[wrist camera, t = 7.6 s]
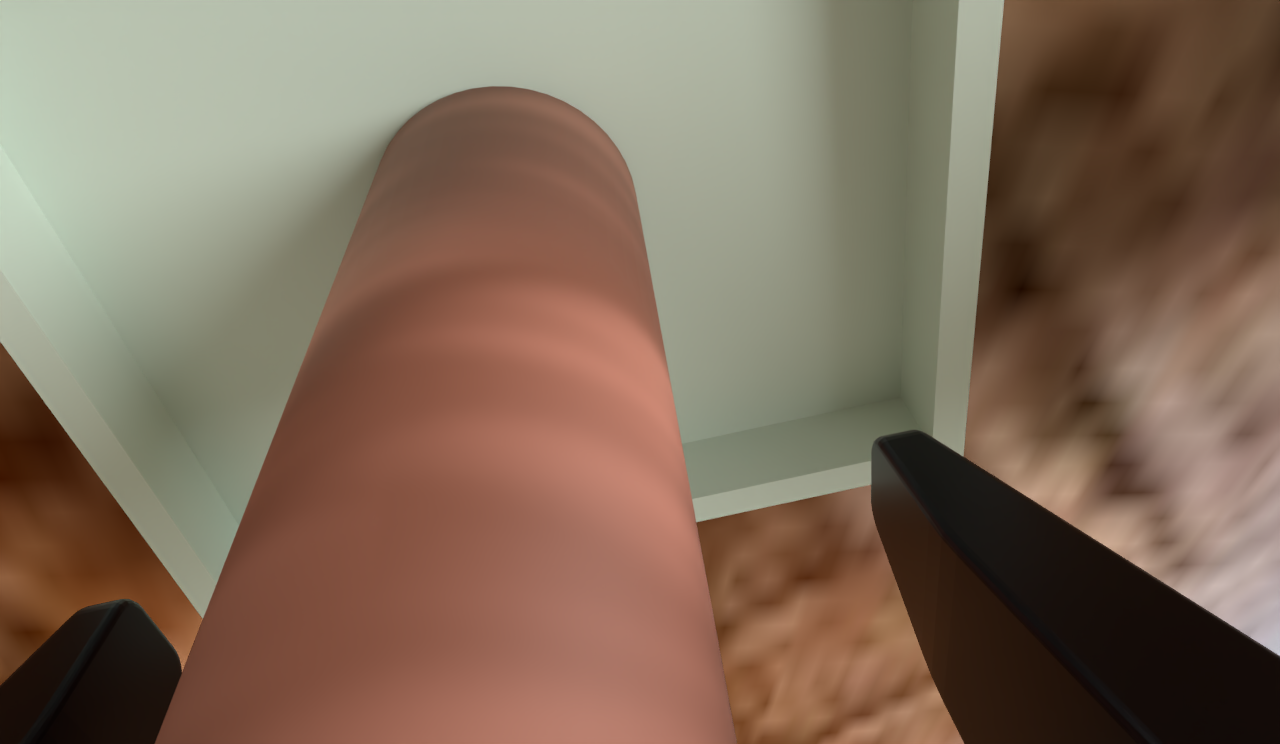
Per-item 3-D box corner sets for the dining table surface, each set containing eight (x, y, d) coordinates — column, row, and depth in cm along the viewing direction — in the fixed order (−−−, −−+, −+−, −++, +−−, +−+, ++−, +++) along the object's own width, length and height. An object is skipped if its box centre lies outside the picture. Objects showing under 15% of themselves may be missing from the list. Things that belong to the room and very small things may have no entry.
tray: (937, -366, 11) (1038, -389, 9) (909, 384, 18) (962, 464, 16) (-181, -147, 11) (-336, -119, 9) (240, 526, 18) (208, 627, 16)
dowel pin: (613, 62, 12) (733, 705, 4) (655, 301, 15) (782, 1003, 7) (333, 114, 12) (-69, 840, 4) (419, 344, 15) (264, 1085, 7)
